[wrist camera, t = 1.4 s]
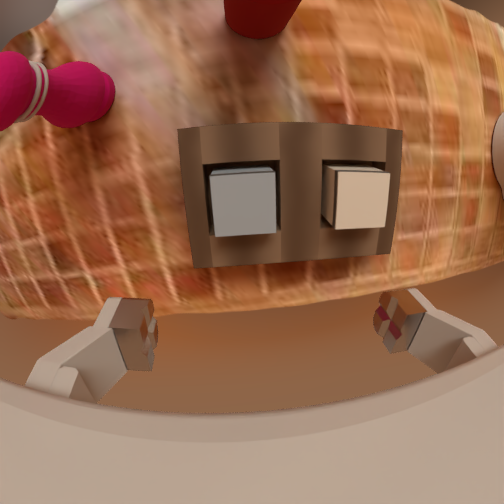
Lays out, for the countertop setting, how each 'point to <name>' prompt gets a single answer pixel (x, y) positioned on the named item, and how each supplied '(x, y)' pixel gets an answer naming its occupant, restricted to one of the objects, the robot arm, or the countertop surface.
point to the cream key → (354, 195)
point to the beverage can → (259, 16)
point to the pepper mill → (52, 92)
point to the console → (285, 188)
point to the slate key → (243, 200)
